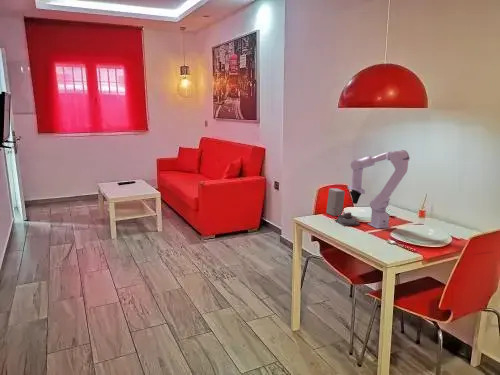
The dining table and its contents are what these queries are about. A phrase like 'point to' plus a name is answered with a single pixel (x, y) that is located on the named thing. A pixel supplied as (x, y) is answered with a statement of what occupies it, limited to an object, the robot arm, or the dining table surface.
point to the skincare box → (335, 201)
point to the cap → (346, 214)
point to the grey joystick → (347, 220)
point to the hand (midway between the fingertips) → (355, 203)
